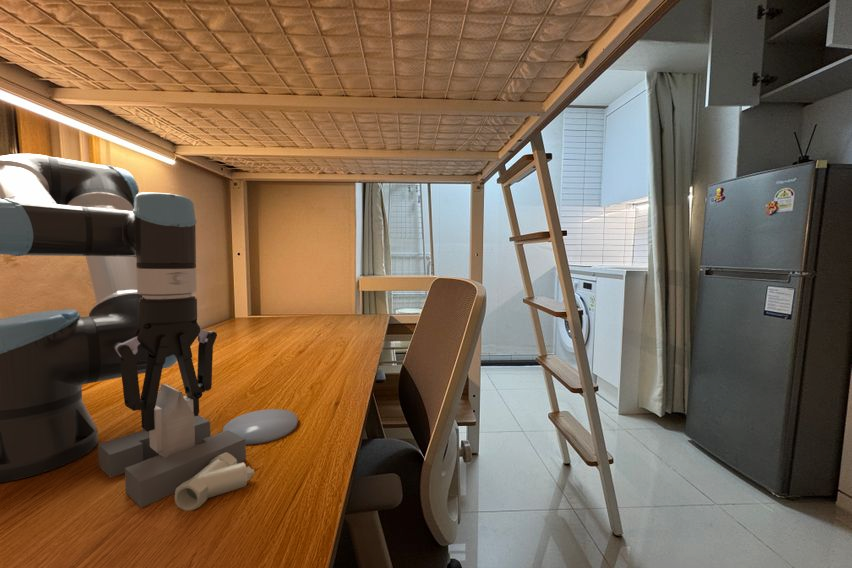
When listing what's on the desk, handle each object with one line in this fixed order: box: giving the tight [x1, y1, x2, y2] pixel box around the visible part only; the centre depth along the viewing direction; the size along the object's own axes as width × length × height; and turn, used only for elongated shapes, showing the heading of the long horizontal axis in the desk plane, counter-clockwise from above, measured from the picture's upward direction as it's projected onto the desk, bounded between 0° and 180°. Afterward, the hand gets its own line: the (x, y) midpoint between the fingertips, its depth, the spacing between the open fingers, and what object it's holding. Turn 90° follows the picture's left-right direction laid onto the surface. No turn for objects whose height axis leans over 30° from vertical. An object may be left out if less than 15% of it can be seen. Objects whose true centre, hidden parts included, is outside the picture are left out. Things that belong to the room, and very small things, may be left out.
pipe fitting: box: [174, 452, 255, 512], centre depth 51 cm, size 8×4×7 cm
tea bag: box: [154, 382, 195, 458], centre depth 57 cm, size 4×7×10 cm, turn 55°
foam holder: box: [97, 414, 247, 509], centre depth 58 cm, size 17×14×4 cm
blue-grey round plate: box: [222, 408, 298, 446], centre depth 70 cm, size 13×13×1 cm
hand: (172, 442), depth 58 cm, fingers closed on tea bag, 4 cm apart
